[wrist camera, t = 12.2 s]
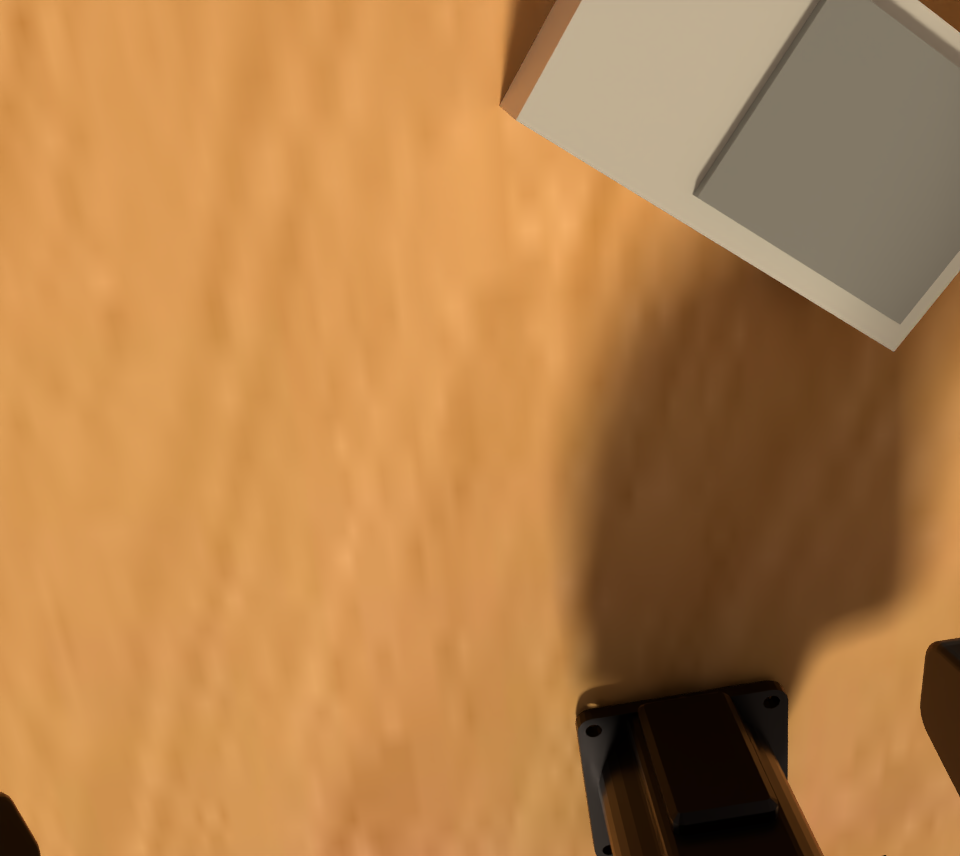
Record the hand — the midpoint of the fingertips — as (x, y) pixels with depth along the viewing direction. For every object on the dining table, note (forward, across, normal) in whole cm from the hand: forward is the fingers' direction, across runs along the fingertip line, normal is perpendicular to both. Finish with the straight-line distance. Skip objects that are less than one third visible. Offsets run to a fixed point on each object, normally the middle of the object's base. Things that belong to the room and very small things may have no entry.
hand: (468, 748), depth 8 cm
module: (+13, -7, -4) cm, 16 cm away
